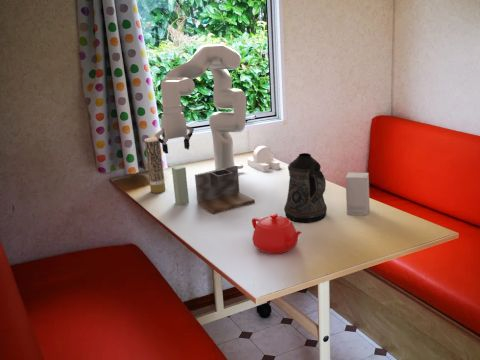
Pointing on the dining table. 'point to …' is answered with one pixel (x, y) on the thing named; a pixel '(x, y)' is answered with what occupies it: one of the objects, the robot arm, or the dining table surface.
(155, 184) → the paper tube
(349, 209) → the skincare box
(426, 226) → the dining table surface
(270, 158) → the white slotted holder
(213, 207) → the bracket stand
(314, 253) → the dining table surface
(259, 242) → the teapot
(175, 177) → the rail post
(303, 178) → the beer stein
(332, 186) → the dining table surface
